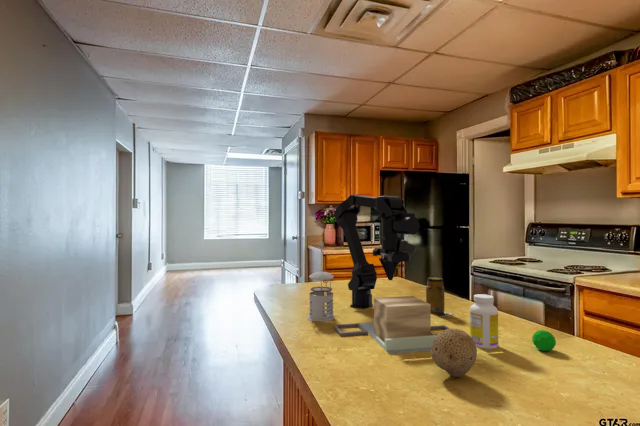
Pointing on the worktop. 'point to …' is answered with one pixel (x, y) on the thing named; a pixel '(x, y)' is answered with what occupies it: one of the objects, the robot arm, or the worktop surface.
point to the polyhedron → (544, 340)
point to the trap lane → (393, 343)
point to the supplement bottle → (484, 322)
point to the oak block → (401, 317)
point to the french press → (321, 297)
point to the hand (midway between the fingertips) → (390, 280)
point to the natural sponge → (454, 352)
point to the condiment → (436, 296)
